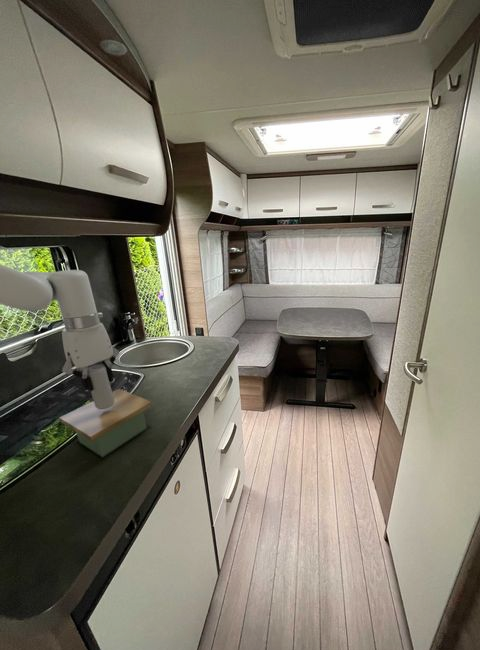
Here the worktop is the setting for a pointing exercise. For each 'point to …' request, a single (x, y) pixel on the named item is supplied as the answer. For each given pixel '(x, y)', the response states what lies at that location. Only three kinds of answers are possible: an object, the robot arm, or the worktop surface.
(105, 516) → the worktop surface
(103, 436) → the box
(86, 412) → the board
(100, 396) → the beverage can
